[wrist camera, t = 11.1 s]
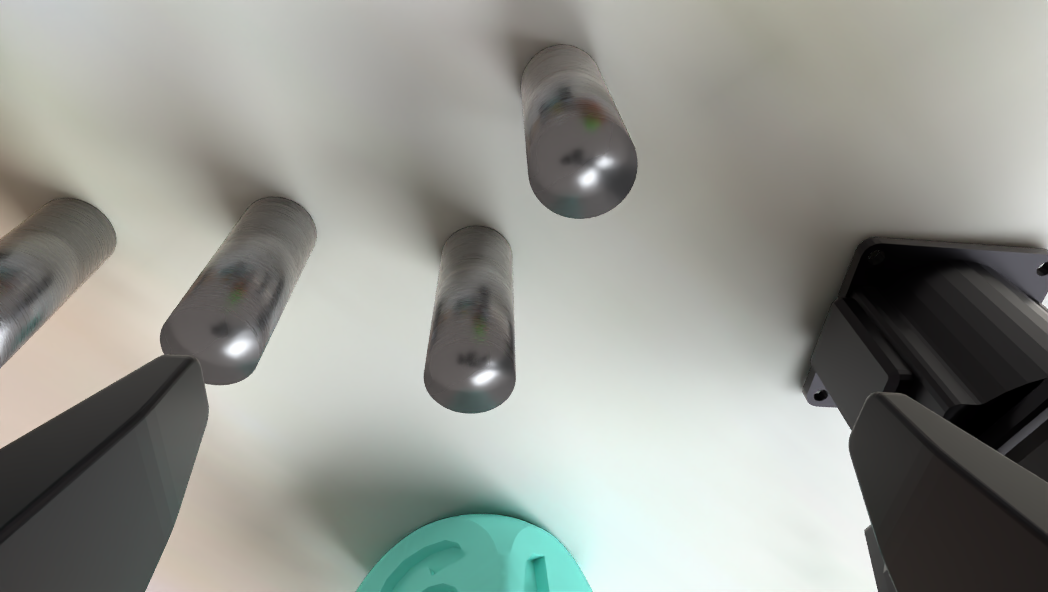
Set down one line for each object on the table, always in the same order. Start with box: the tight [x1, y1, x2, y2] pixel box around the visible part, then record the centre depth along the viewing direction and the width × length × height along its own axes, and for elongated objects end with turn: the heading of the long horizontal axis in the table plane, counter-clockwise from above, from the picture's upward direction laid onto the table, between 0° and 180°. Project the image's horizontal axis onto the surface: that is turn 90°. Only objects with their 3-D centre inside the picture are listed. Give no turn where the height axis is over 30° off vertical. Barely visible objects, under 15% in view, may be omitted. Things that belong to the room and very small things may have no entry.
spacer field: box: [0, 45, 637, 413], centre depth 16 cm, size 18×14×6 cm
